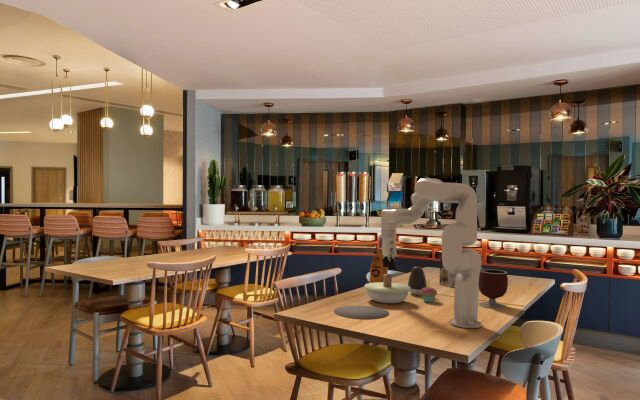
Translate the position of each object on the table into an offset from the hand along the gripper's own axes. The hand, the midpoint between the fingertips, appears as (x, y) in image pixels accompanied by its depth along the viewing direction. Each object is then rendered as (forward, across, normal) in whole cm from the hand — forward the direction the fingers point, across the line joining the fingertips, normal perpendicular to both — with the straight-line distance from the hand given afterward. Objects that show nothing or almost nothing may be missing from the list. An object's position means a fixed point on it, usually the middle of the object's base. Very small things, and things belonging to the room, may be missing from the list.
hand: (388, 268), depth 231 cm
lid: (+10, +1, 0) cm, 10 cm away
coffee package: (+16, +47, -7) cm, 50 cm away
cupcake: (+18, +2, -21) cm, 28 cm away
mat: (+18, -21, +19) cm, 33 cm away
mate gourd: (+18, -8, -50) cm, 54 cm away
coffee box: (+17, +43, -49) cm, 68 cm away
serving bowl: (+17, +1, 0) cm, 17 cm away
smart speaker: (+17, +19, -22) cm, 34 cm away
